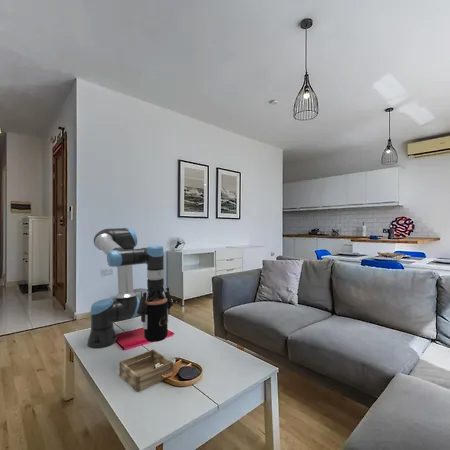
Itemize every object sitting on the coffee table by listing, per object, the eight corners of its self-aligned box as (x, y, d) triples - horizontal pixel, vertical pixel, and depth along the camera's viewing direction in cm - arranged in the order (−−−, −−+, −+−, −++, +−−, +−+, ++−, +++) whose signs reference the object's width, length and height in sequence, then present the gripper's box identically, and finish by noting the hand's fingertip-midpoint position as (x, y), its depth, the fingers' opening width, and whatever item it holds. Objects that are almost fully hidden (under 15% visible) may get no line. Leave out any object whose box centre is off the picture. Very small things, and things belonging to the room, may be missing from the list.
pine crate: (119, 375, 125) (119, 361, 125) (153, 361, 137) (153, 349, 136) (137, 391, 113) (137, 377, 112) (172, 375, 125) (172, 362, 124)
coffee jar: (162, 343, 125) (162, 303, 125) (140, 341, 127) (139, 302, 126) (170, 333, 135) (170, 297, 135) (150, 332, 137) (150, 296, 137)
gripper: (137, 283, 120) (137, 334, 120) (180, 275, 136) (180, 320, 137) (128, 281, 125) (128, 329, 125) (171, 273, 142) (171, 316, 142)
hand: (155, 325), depth 131 cm, fingers closed on coffee jar, 11 cm apart
